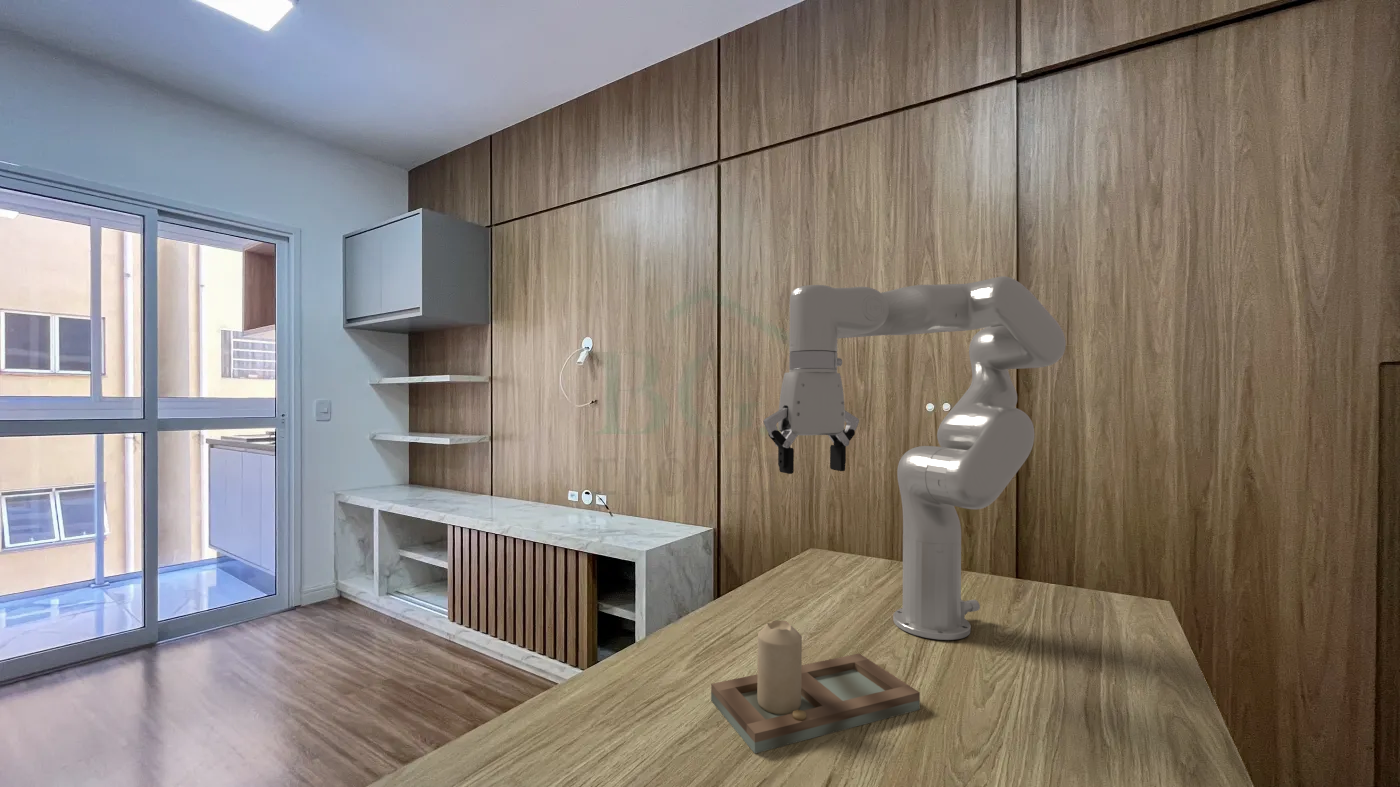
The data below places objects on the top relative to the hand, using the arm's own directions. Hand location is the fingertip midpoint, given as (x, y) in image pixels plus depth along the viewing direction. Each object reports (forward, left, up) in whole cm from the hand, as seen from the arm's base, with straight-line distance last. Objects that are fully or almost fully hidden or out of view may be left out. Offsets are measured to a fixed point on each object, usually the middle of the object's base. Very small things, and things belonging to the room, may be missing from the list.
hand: (812, 471), depth 90 cm
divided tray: (+9, +14, -28) cm, 33 cm away
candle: (+14, +14, -27) cm, 34 cm away
